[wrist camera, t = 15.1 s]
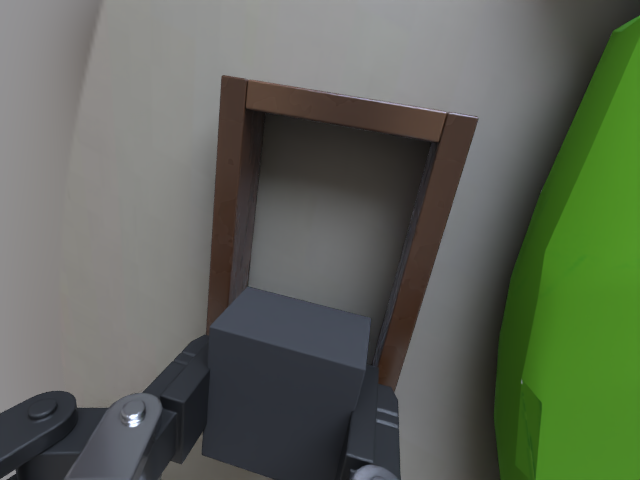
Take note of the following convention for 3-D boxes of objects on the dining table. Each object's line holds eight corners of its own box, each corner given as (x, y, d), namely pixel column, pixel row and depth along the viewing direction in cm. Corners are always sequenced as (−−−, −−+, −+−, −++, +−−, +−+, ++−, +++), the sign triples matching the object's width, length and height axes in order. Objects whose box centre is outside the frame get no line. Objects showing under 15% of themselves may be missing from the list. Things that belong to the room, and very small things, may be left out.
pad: (236, 396, 13) (200, 455, 11) (247, 286, 11) (208, 325, 9) (343, 429, 13) (332, 499, 10) (371, 317, 11) (366, 369, 8)
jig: (221, 382, 15) (200, 412, 14) (246, 84, 11) (221, 74, 9) (373, 427, 14) (372, 466, 13) (464, 119, 10) (479, 116, 8)
